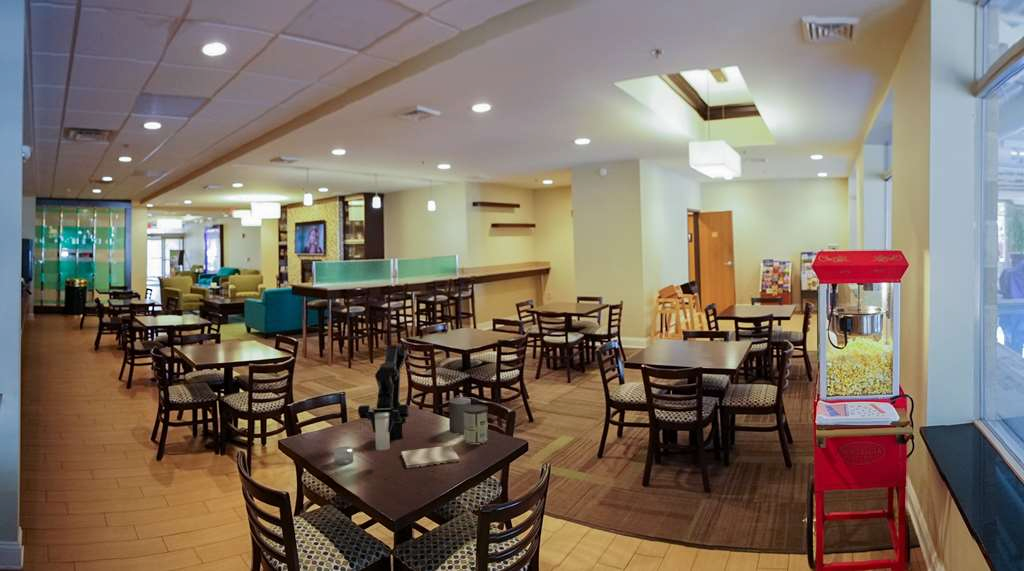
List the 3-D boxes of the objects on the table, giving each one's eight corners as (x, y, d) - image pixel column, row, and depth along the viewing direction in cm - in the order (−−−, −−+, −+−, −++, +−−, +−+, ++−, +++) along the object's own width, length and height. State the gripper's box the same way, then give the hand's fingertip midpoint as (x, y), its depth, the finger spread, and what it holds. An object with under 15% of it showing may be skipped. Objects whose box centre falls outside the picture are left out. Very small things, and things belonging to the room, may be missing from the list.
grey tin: (352, 457, 224) (352, 445, 224) (353, 464, 218) (353, 451, 217) (334, 460, 222) (333, 447, 222) (334, 466, 215) (334, 453, 215)
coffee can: (471, 435, 249) (470, 403, 248) (492, 438, 245) (491, 406, 244) (459, 442, 240) (458, 409, 239) (480, 446, 236) (480, 412, 235)
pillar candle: (445, 429, 257) (444, 397, 256) (463, 425, 263) (463, 393, 261) (456, 435, 249) (456, 402, 248) (475, 430, 255) (475, 398, 254)
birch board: (450, 448, 234) (450, 445, 234) (459, 461, 219) (459, 458, 219) (401, 454, 227) (401, 451, 227) (406, 468, 213) (406, 465, 213)
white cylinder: (389, 444, 220) (388, 411, 219) (390, 449, 215) (389, 415, 213) (374, 446, 218) (373, 412, 217) (376, 451, 213) (375, 416, 212)
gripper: (411, 404, 231) (408, 440, 221) (364, 405, 230) (359, 442, 220) (408, 390, 223) (406, 427, 213) (360, 391, 221) (355, 428, 211)
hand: (381, 431), depth 214 cm, fingers closed on white cylinder, 5 cm apart
